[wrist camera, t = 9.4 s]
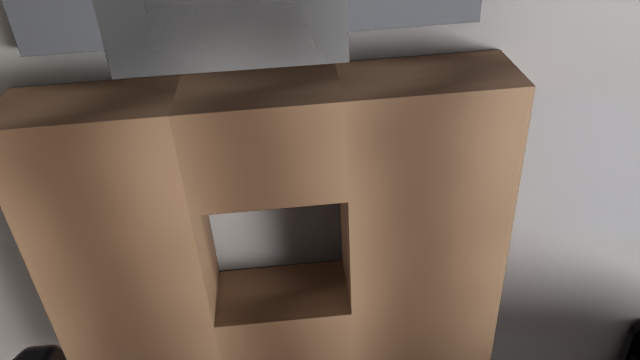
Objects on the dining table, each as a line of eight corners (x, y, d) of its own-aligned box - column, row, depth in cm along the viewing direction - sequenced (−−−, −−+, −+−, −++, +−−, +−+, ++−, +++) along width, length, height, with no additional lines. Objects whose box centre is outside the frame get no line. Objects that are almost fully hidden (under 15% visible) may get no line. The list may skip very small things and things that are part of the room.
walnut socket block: (499, 49, 19) (535, 86, 17) (468, 308, 26) (489, 363, 23) (8, 88, 19) (-32, 132, 16) (103, 343, 25) (85, 403, 23)
